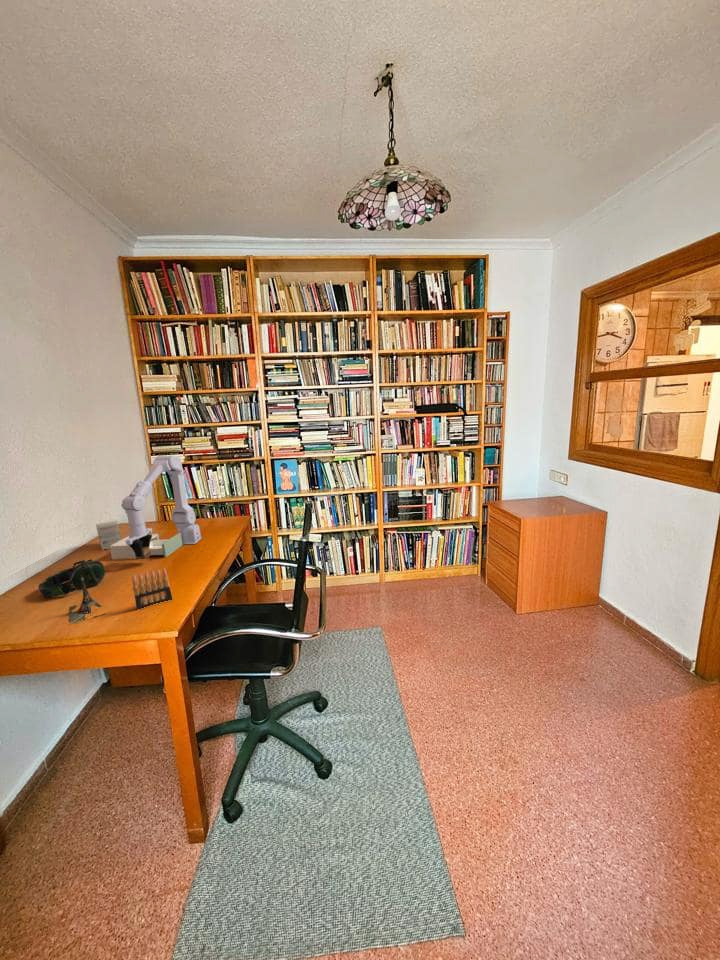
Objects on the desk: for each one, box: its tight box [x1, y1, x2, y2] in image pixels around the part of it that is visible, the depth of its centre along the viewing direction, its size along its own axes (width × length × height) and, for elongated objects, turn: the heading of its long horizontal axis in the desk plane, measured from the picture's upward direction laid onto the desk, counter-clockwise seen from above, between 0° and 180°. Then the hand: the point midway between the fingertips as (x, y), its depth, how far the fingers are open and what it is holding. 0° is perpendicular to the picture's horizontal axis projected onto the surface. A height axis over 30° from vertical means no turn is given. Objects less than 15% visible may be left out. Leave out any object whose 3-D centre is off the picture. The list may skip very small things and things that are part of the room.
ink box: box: [95, 519, 122, 551], centre depth 182 cm, size 9×9×12 cm
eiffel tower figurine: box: [68, 575, 103, 624], centre depth 122 cm, size 15×10×13 cm
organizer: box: [109, 533, 160, 560], centre depth 171 cm, size 14×14×6 cm
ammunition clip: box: [131, 567, 173, 611], centre depth 123 cm, size 11×2×12 cm, turn 122°
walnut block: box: [135, 547, 152, 560], centre depth 157 cm, size 4×4×4 cm
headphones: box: [38, 558, 106, 598], centre depth 139 cm, size 13×13×20 cm
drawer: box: [149, 532, 183, 558], centre depth 170 cm, size 14×14×6 cm
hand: (142, 554), depth 157 cm, fingers closed on walnut block, 4 cm apart
